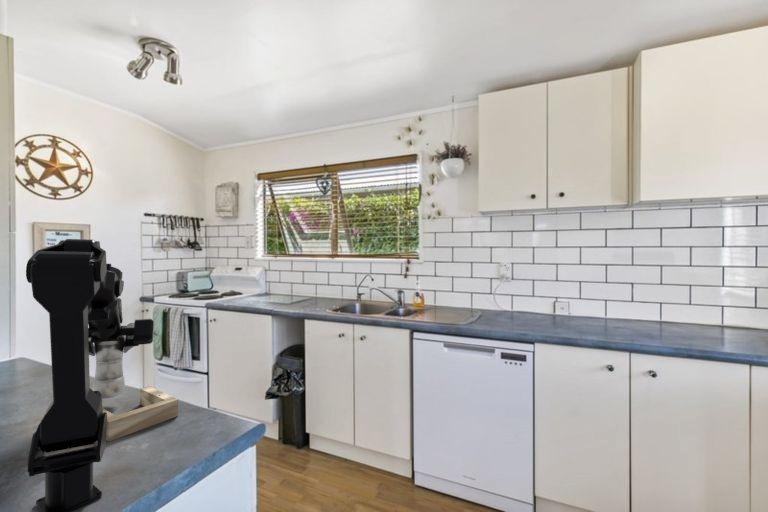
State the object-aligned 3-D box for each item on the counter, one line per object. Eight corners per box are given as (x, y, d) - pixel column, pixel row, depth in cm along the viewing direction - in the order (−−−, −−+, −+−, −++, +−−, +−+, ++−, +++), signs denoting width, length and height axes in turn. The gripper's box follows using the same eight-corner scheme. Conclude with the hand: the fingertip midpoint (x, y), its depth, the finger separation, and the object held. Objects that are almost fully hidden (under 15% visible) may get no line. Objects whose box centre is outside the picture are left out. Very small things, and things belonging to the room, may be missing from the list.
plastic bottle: (128, 390, 94) (130, 313, 94) (119, 400, 88) (121, 318, 88) (97, 393, 92) (100, 314, 92) (87, 403, 85) (89, 319, 85)
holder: (178, 415, 86) (178, 399, 86) (109, 441, 74) (109, 422, 74) (148, 401, 94) (148, 386, 93) (81, 422, 82) (81, 405, 82)
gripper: (154, 287, 91) (155, 323, 100) (56, 289, 82) (67, 329, 91) (151, 324, 84) (153, 359, 94) (44, 331, 75) (58, 369, 84)
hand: (110, 352), depth 91 cm, fingers closed on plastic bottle, 6 cm apart
